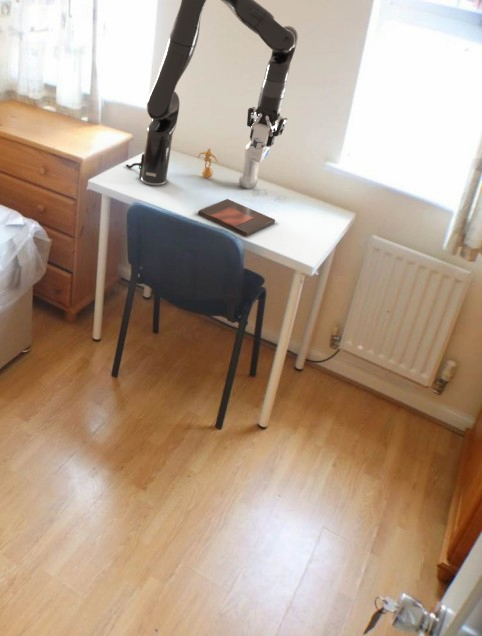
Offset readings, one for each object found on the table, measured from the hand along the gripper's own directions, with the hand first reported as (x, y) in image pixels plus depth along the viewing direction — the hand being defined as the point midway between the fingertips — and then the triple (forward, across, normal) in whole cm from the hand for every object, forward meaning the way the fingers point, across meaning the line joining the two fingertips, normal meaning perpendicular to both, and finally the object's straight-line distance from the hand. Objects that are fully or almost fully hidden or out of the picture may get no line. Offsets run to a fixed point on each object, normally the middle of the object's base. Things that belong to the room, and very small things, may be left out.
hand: (260, 143), depth 239 cm
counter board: (+22, +5, -13) cm, 26 cm away
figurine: (+23, -23, +6) cm, 33 cm away
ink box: (+5, 0, 0) cm, 5 cm away
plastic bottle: (+23, -9, +12) cm, 27 cm away
